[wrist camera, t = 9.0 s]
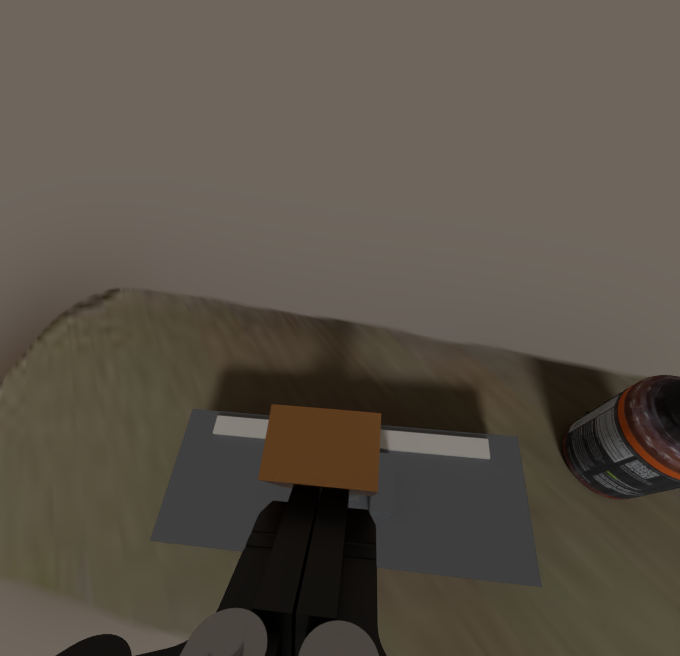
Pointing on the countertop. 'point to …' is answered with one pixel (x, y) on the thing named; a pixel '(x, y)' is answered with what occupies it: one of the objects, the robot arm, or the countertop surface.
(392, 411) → the countertop surface
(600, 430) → the supplement bottle
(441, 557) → the block
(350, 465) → the lever
